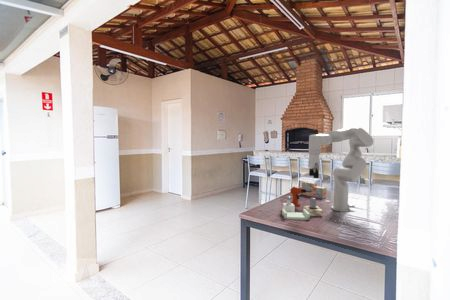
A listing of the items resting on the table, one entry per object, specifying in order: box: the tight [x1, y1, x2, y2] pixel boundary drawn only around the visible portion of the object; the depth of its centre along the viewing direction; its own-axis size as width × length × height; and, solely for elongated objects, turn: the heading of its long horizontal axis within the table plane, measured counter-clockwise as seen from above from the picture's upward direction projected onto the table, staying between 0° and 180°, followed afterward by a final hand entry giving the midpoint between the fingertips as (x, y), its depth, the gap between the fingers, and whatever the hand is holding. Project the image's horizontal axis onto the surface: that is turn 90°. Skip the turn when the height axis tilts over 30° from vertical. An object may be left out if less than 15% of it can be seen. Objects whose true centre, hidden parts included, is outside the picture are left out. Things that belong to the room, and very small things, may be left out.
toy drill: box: [289, 186, 312, 207], centre depth 177 cm, size 5×19×15 cm, turn 42°
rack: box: [281, 208, 311, 221], centre depth 153 cm, size 16×10×4 cm, turn 86°
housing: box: [282, 202, 296, 212], centre depth 165 cm, size 7×7×5 cm
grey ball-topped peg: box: [285, 195, 293, 205], centre depth 165 cm, size 4×4×10 cm
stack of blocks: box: [300, 180, 327, 199], centre depth 210 cm, size 21×6×12 cm, turn 38°
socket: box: [303, 205, 324, 217], centre depth 160 cm, size 10×10×4 cm
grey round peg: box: [309, 197, 317, 209], centre depth 160 cm, size 4×4×11 cm
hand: (313, 176), depth 159 cm, fingers open, 9 cm apart
